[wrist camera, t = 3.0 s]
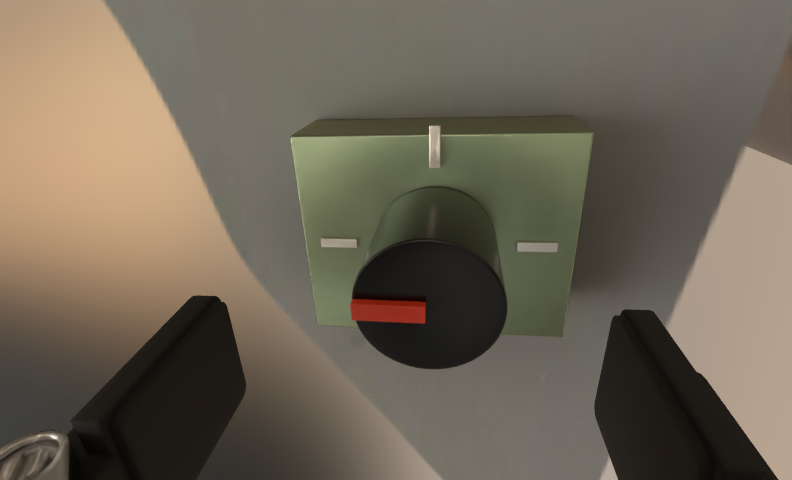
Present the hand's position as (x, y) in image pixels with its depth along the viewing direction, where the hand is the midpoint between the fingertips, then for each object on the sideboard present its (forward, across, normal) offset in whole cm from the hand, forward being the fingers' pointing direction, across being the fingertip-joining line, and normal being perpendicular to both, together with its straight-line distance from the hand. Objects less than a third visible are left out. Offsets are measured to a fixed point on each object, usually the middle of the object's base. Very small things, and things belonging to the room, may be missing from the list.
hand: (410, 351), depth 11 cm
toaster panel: (+9, 0, 0) cm, 9 cm away
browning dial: (+6, 0, 0) cm, 6 cm away
